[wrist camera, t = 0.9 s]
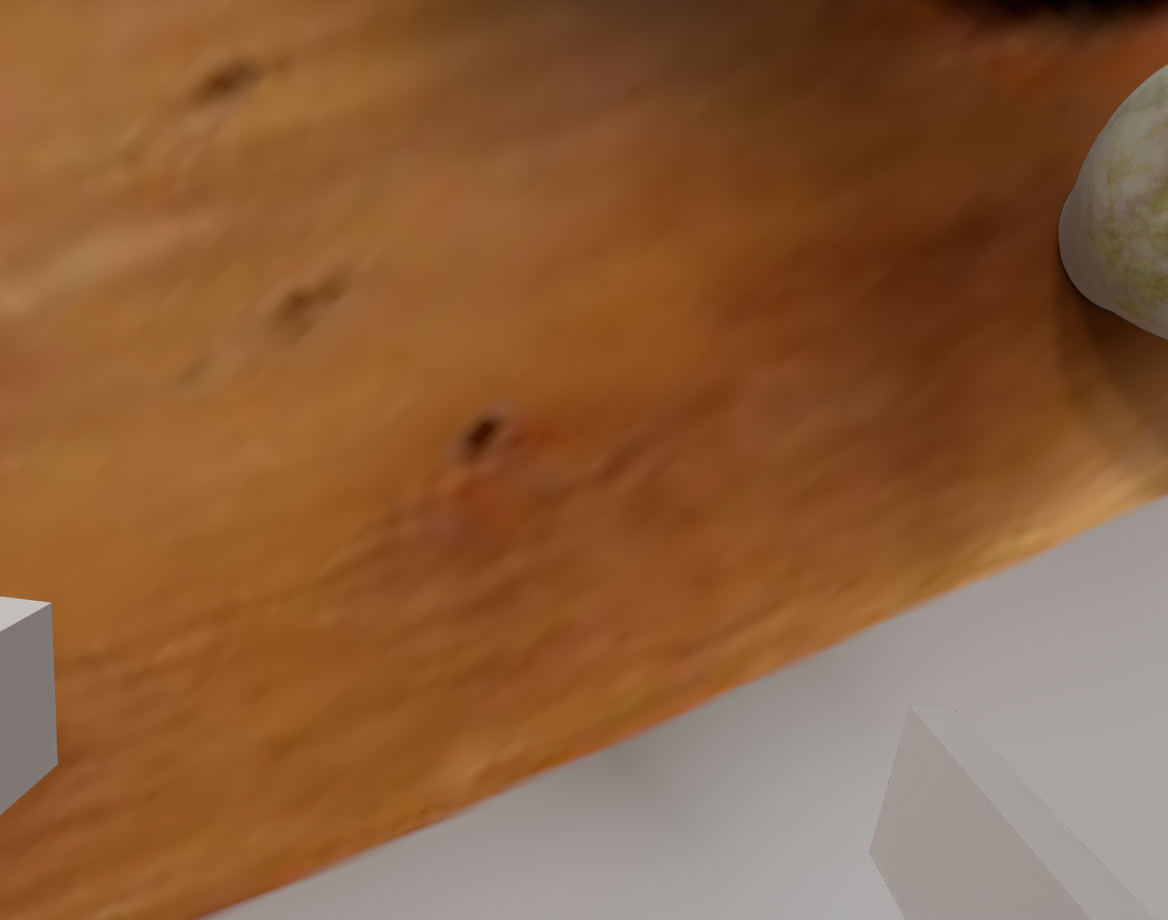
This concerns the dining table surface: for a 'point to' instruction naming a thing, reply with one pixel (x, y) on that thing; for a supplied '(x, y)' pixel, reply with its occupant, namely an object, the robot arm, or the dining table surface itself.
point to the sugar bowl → (1124, 212)
